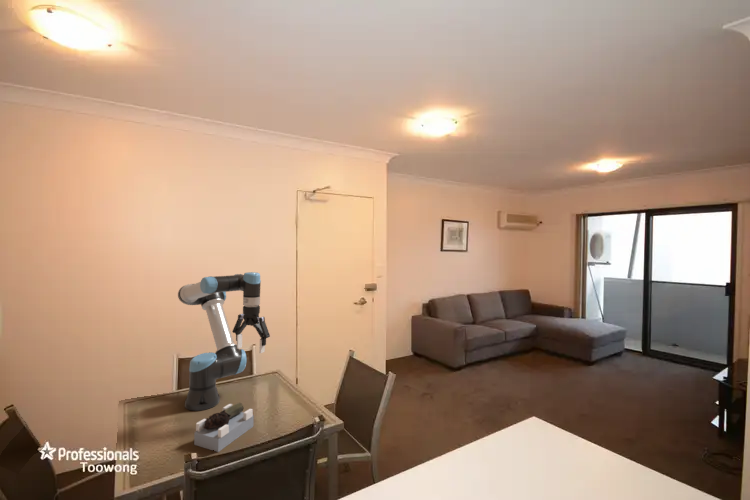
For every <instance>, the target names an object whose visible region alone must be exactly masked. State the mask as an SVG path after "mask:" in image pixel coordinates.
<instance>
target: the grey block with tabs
mask: <svg viewBox="0 0 750 500" xmlns="http://www.w3.org/2000/svg"><path fill="white" fill-rule="evenodd" d="M231 406H233V403H228V404H226V405H225V406H223V407H222V411H223V410H225V409H227V408H229V407H231ZM253 413H254V409H253V408H248V409H247V410H245V411H242V412H240V413H239V414H237V415H235V416H233V417H231V418H229V423H228V424H227V425H224V426H223V427H218V428H212V429H209V430H207V429H205V428H203V427H204V426H205V423H204V422H205V421H206V419H207V418H203V419H201V420H199V421H197V422H196V424H195V431H194V437H193V438H194V440H193V441H194V443H193V444H194V446H198V447H200V448H204V449H207V450H210V451H213V450H214V452H217V453H220V452H221V451H222V450H224V449H225V448H226V447H227V446H229V445H230V444H232V443H233V442H234V441H236V440H237V439H238V438H239V437H241V436H242V435H243V434H244V435H245V433H247V431H249V430H251V429H252V428H253V427H254V423H255V422H254V418H255V416H254V414H253Z"/></svg>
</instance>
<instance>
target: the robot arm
mask: <svg viewBox="0 0 750 500" xmlns="http://www.w3.org/2000/svg"><path fill="white" fill-rule="evenodd" d="M261 282H262V280H261V274H260V272H255V271H254V272H253V271H252V272H244V274H241V273H236V274H233V275H221V276H220V275H219V276H205V277H202V278H201V280H200V281H199V282H195V283H190V284H189V283H188V284H185V285H183V286H181V287H180V288H179V290H178V292H177V299H178V300H179V301H180V302H181V303H183V304H184V305H187V306H200V305H201V309H202V310H203V311H206V312H205V313H206V316H207V319H208V322H209V326H210V329H211V333H212V336H213V339H214V342H215V343H214V344H215V347H216V350H215V352H210V351H209V352H203V353H199V354H197V355H195V356H194V357H192V359H190V361H189V368H188V371H189V376H188V377H189V380H188V381H189V383H188V384H189V386H188V387H189V388H188V393H187V396H186V398H185V401H184V408H185V409H186V410H189V411H192V412H193V411H194V412H195V411H197V412H198V411H205V410H208V409H211V408H213V407H215V406H217V405H218V404H219V403H220V393H219V392H218V389H217V380H219V379H222V378H226V377H230V376H235V375H238V374H240V373H242V372H244V370H245V369H246V366H247V354H246V351H245V350H244V349H243V331H244V330H245V328H246V327H247V326H250V327H253V328H254V329H255V330H256V332H257V333H258V335H259V337H260V338H259V354H262V353H265V352H266V351H265V349H266V345H267V339H269V338H270V337H271V335H270V332H269V330H268V327H267V323H266V321H265V320H266V319H265V316H261V317H260V313H261V306H260V304H261ZM236 291H238V292H239V291H240V292H242V293H243V294H242V299H243V300H242V301H243V302H242V305H243V306H242V313H239V314H237V320H236V322H235V324H234V327H233V329H232V332H231V330H230V326H229V323H228V319H227V315H226V312H225V309H224V304H225V301H226V299H227V292H236ZM232 333H233V334H235V341H236V343H235V341H234V338H233V335H232Z"/></svg>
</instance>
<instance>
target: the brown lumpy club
mask: <svg viewBox="0 0 750 500" xmlns="http://www.w3.org/2000/svg"><path fill="white" fill-rule="evenodd" d="M244 407H245V406H244V405H243V403H241V402H237V403H235V404H232V406H231V407H229V408H227V409H225V410H223V409H222V410H221V411H220V412H216V413H213V414H212V415H209V417H207V418H205V419H206V421H205V422H204V423H205V426H204V427H203V428H205V429H207V430H209V429H212V428H218V427H223V426H224V425H227V424H228V423H229V418H231V417H233V416H235V415H237V414H239V413H240V412H244Z"/></svg>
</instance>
